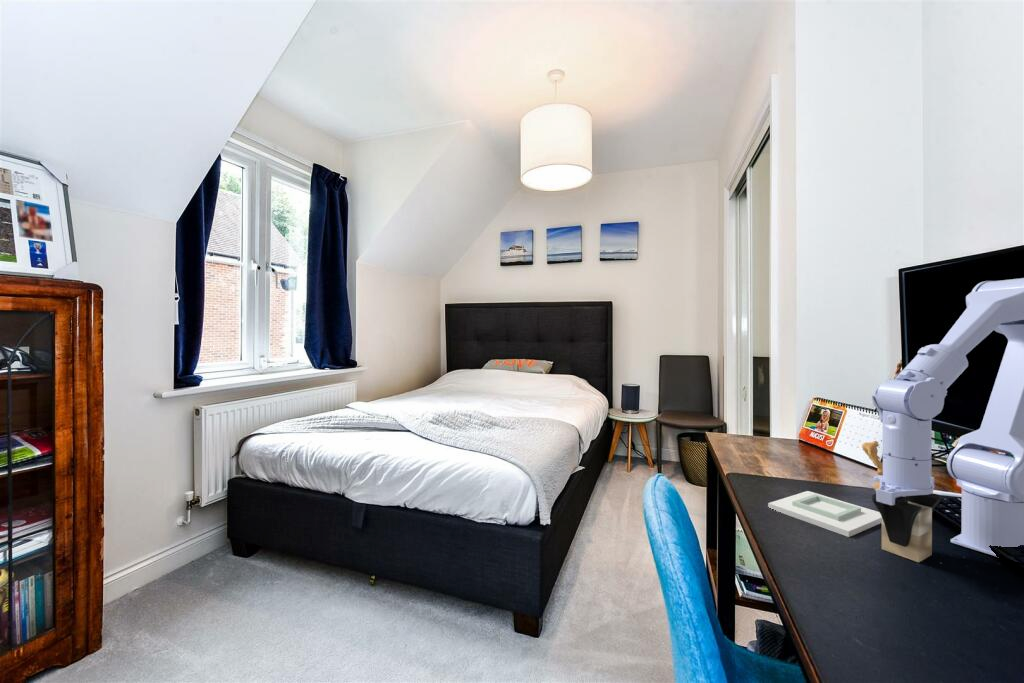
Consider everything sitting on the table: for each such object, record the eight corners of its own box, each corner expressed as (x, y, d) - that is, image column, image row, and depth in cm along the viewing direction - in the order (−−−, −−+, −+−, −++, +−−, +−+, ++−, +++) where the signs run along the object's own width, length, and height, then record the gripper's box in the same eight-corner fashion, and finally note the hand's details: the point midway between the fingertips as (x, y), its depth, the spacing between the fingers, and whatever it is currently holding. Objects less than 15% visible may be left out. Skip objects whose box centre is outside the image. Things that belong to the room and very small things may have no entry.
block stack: (895, 542, 71) (895, 497, 71) (931, 554, 67) (931, 507, 67) (881, 549, 69) (881, 503, 69) (918, 562, 65) (918, 513, 65)
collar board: (807, 495, 92) (807, 487, 92) (888, 520, 80) (888, 510, 80) (768, 508, 86) (768, 499, 86) (848, 537, 73) (848, 526, 73)
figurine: (900, 507, 85) (900, 447, 85) (861, 500, 89) (861, 443, 89) (898, 495, 92) (898, 439, 91) (862, 488, 96) (862, 435, 95)
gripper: (896, 443, 75) (896, 520, 75) (853, 455, 68) (853, 539, 68) (951, 453, 68) (951, 537, 68) (910, 467, 62) (910, 560, 62)
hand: (906, 540), depth 68 cm, fingers closed on block stack, 5 cm apart
